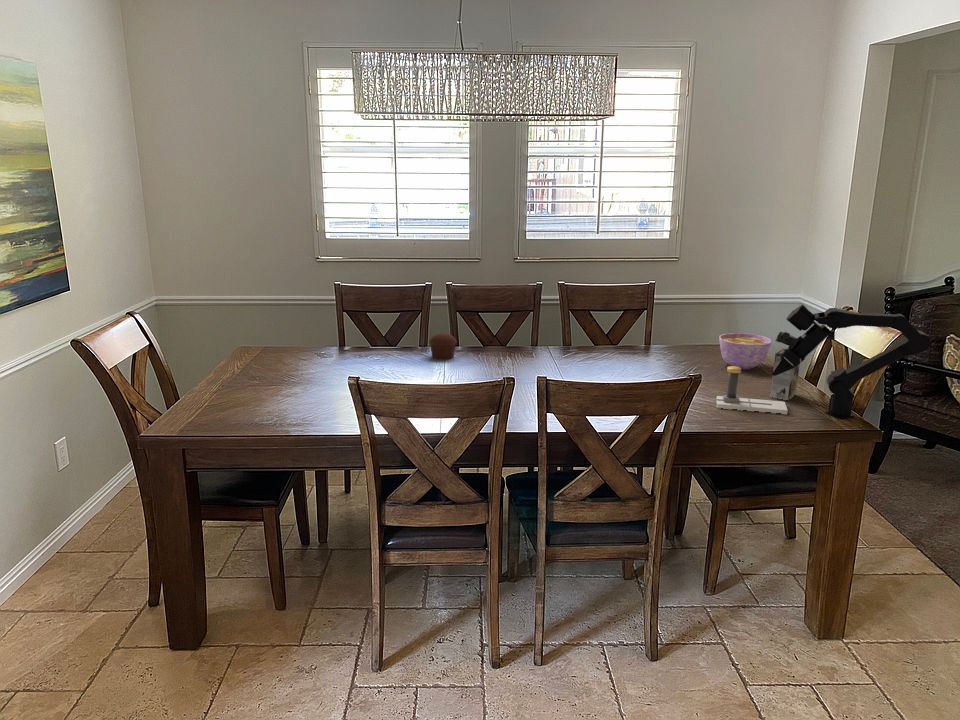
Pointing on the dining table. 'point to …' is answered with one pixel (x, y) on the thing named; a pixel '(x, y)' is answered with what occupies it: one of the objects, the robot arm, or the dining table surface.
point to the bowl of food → (744, 349)
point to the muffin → (442, 346)
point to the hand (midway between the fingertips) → (774, 373)
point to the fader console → (753, 405)
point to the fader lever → (732, 384)
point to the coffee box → (784, 381)
